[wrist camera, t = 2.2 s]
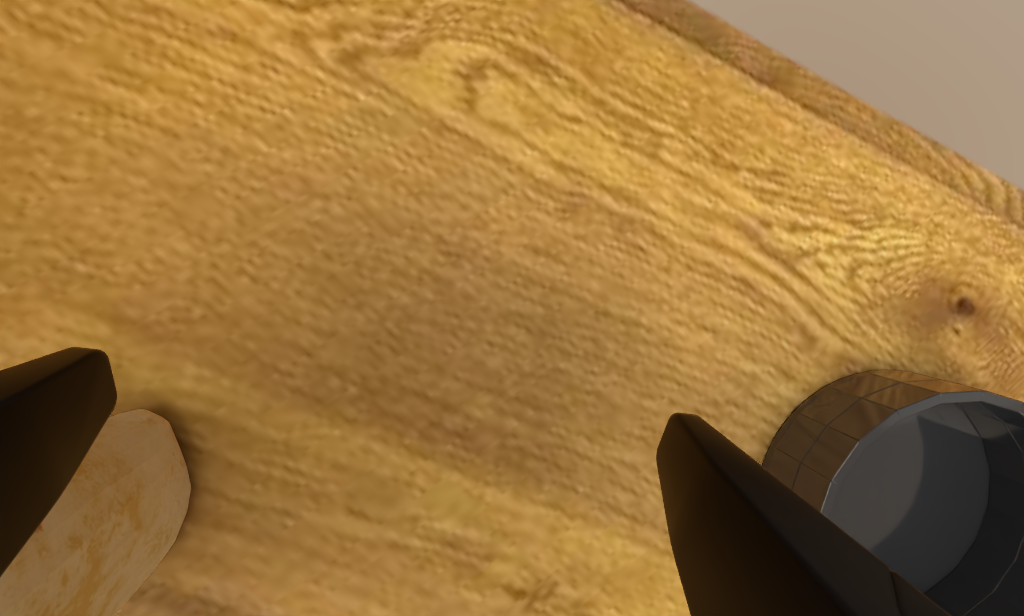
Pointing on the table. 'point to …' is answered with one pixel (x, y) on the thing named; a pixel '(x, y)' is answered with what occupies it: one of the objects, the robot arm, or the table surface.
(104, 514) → the food model
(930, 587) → the pan
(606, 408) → the table surface
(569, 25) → the table surface
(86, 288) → the table surface
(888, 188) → the table surface
